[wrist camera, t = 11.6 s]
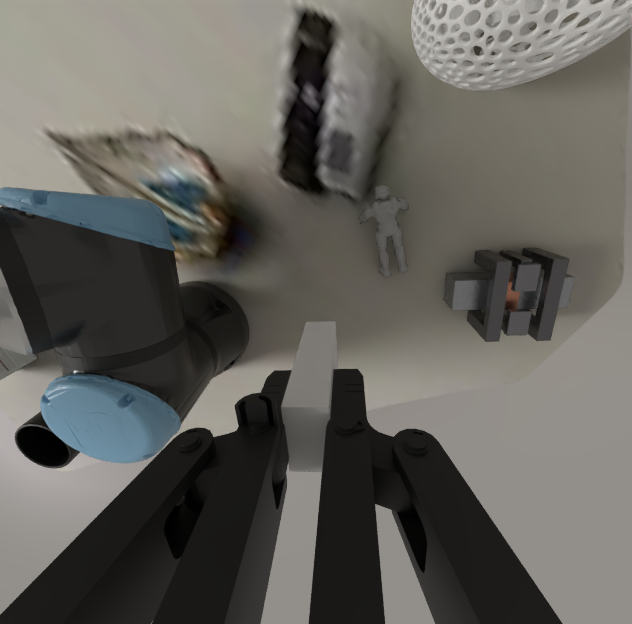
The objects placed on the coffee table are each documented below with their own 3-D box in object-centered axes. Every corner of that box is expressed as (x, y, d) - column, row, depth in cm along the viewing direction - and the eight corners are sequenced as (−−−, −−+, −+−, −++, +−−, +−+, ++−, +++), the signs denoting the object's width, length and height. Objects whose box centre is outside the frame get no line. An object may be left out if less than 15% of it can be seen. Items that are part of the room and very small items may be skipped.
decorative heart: (575, -38, 31) (815, -269, 15) (562, 90, 35) (741, 12, 19) (389, 8, 33) (427, -148, 18) (395, 122, 37) (432, 78, 21)
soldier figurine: (411, 250, 45) (402, 166, 37) (420, 271, 41) (413, 182, 33) (367, 261, 46) (350, 181, 39) (372, 283, 42) (354, 199, 35)
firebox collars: (467, 320, 46) (485, 341, 40) (475, 250, 42) (497, 262, 36) (522, 319, 45) (550, 340, 39) (536, 247, 41) (569, 258, 35)
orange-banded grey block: (443, 299, 45) (452, 310, 41) (446, 272, 43) (455, 281, 40) (548, 297, 43) (567, 307, 40) (554, 269, 42) (574, 277, 38)
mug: (41, 401, 59) (-9, 436, 51) (88, 383, 57) (44, 417, 48) (72, 438, 62) (30, 477, 54) (119, 422, 60) (82, 461, 51)
